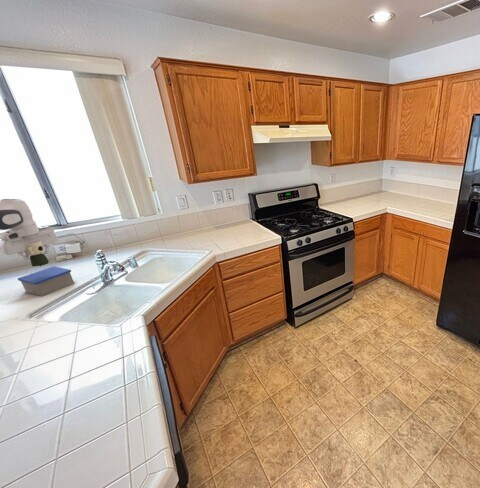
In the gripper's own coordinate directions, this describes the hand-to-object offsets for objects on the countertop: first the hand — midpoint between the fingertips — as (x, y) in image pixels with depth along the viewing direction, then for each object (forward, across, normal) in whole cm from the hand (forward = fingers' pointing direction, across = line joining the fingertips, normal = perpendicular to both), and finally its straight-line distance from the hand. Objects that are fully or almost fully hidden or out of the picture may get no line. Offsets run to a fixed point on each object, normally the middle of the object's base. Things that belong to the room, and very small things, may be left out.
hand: (36, 256), depth 135 cm
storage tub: (+18, 0, 0) cm, 18 cm away
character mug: (+5, 0, 0) cm, 5 cm away
